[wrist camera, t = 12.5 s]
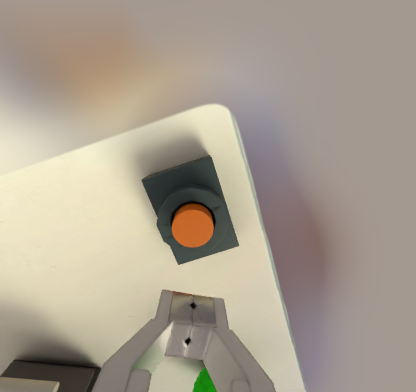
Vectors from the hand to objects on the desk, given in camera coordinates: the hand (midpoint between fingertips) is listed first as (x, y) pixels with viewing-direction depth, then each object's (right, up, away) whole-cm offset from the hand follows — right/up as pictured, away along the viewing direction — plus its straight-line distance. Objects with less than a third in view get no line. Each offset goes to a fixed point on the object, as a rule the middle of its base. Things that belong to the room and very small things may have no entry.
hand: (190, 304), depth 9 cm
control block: (-1, +4, +12) cm, 13 cm away
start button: (-1, +3, +9) cm, 9 cm away
